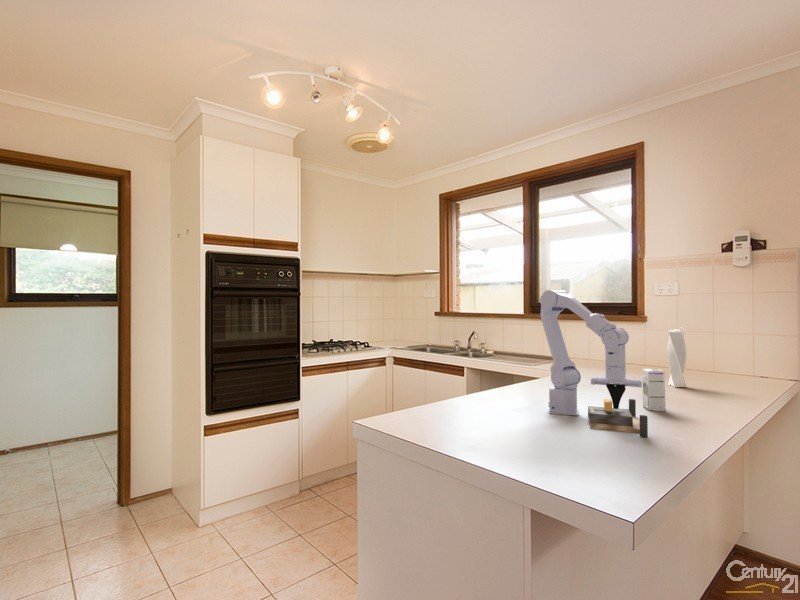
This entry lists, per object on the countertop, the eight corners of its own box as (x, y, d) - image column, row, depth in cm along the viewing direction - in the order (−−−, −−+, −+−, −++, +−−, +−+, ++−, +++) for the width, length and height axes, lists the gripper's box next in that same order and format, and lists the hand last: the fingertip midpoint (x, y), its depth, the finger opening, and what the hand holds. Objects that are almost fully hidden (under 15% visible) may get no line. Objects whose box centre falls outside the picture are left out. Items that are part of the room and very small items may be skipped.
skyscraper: (691, 388, 188) (690, 326, 188) (674, 388, 188) (674, 326, 188) (679, 384, 196) (679, 325, 196) (663, 385, 196) (663, 325, 196)
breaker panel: (590, 428, 130) (590, 415, 130) (587, 415, 144) (587, 404, 144) (645, 433, 124) (645, 419, 124) (637, 420, 138) (637, 407, 138)
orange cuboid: (605, 411, 133) (605, 401, 133) (603, 408, 137) (603, 398, 137) (612, 411, 132) (612, 402, 132) (610, 408, 136) (610, 399, 136)
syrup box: (666, 411, 149) (665, 371, 149) (648, 410, 150) (647, 370, 150) (659, 407, 154) (659, 368, 155) (642, 406, 156) (641, 368, 156)
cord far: (629, 417, 141) (629, 400, 141) (628, 416, 143) (628, 398, 143) (636, 418, 140) (635, 400, 140) (635, 416, 142) (635, 399, 142)
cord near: (640, 437, 121) (640, 416, 121) (639, 435, 122) (639, 414, 123) (648, 438, 120) (648, 417, 120) (647, 436, 122) (646, 415, 122)
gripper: (591, 366, 133) (591, 409, 133) (643, 368, 127) (643, 413, 127) (590, 363, 139) (590, 404, 139) (639, 365, 134) (639, 407, 134)
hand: (615, 408), depth 134 cm, fingers closed
